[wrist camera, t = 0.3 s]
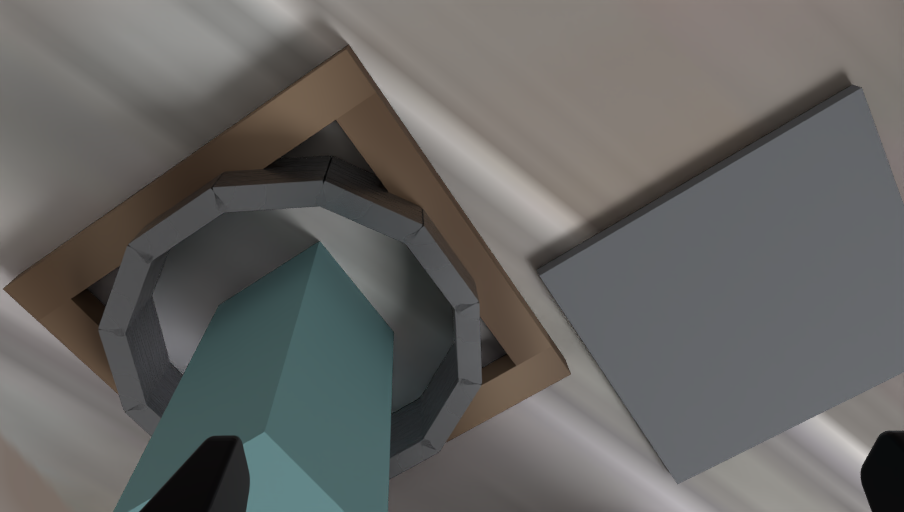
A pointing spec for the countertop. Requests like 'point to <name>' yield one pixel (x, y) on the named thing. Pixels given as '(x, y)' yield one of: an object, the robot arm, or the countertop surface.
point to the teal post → (287, 394)
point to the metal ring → (279, 187)
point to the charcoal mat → (749, 289)
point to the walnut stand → (255, 147)
